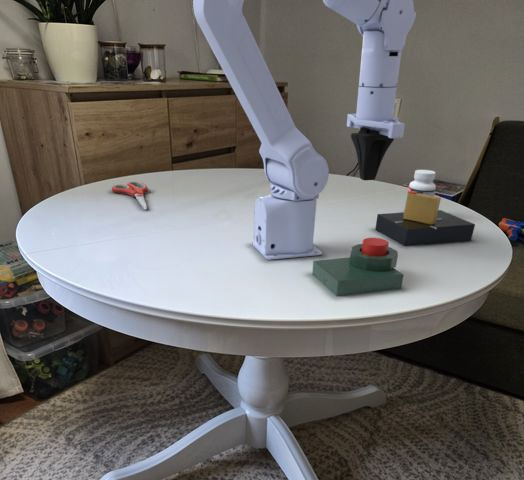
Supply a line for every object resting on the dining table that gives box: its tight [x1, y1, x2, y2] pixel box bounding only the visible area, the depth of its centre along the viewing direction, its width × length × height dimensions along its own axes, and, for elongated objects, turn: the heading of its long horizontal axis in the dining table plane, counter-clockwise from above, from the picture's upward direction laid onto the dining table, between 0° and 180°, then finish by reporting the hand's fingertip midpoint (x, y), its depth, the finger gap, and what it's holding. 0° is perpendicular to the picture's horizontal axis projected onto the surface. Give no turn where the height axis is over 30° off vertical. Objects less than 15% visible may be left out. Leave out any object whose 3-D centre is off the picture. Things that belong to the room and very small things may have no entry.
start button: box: [361, 237, 390, 256], centre depth 68 cm, size 4×4×2 cm
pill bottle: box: [403, 169, 437, 212], centre depth 99 cm, size 5×5×9 cm
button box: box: [311, 243, 405, 297], centre depth 68 cm, size 11×8×4 cm
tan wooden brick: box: [403, 191, 442, 225], centre depth 85 cm, size 6×2×5 cm, turn 49°
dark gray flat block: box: [374, 209, 476, 247], centre depth 88 cm, size 14×11×3 cm
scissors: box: [111, 181, 149, 211], centre depth 107 cm, size 8×21×2 cm, turn 35°
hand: (367, 179), depth 81 cm, fingers closed
